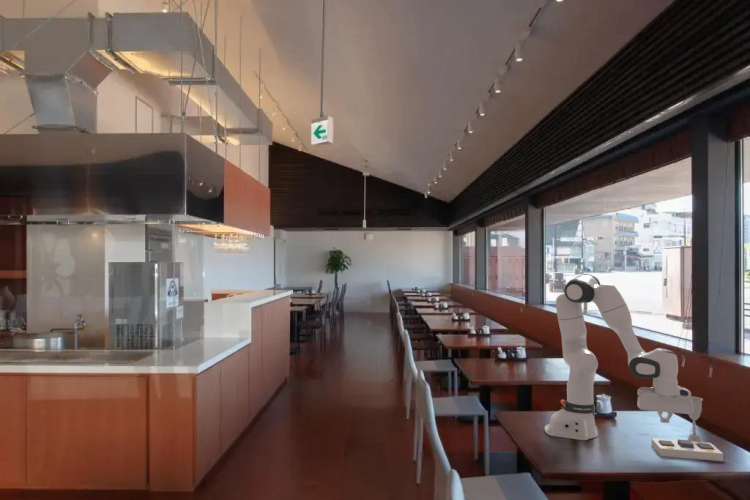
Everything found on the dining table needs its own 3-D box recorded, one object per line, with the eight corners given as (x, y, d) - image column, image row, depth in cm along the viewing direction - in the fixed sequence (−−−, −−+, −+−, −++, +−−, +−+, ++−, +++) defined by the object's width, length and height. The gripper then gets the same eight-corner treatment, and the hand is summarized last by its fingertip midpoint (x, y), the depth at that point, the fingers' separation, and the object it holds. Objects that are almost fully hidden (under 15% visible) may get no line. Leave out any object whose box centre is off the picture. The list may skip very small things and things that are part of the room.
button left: (662, 450, 202) (662, 443, 202) (659, 446, 206) (658, 440, 206) (674, 451, 201) (674, 444, 201) (670, 447, 205) (670, 441, 205)
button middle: (681, 449, 200) (681, 443, 200) (677, 445, 205) (677, 439, 205) (693, 450, 199) (693, 444, 199) (689, 446, 203) (689, 440, 203)
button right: (701, 453, 198) (701, 446, 199) (697, 449, 203) (697, 443, 203) (713, 454, 197) (713, 447, 197) (709, 450, 202) (709, 444, 202)
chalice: (706, 443, 213) (706, 400, 213) (689, 442, 214) (688, 400, 215) (699, 437, 220) (698, 396, 220) (682, 436, 221) (681, 395, 222)
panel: (660, 455, 199) (660, 447, 199) (651, 445, 210) (651, 437, 210) (723, 461, 193) (723, 452, 193) (710, 450, 205) (710, 442, 205)
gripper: (639, 388, 204) (639, 422, 204) (695, 392, 199) (695, 427, 199) (635, 384, 210) (634, 417, 210) (689, 389, 205) (689, 422, 205)
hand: (664, 422), depth 204 cm, fingers closed
